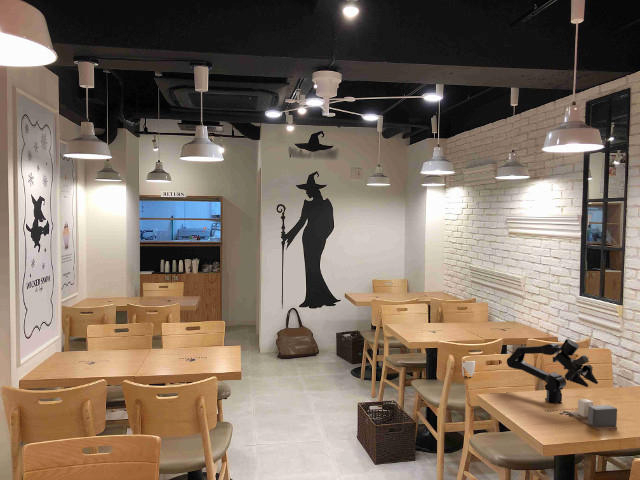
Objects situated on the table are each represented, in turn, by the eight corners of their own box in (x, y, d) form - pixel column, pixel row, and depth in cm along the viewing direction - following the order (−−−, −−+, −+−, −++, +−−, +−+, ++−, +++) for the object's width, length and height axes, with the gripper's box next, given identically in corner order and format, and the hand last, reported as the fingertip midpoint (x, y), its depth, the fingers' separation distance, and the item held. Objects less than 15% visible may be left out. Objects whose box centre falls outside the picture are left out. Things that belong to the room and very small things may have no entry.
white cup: (475, 375, 312) (476, 359, 311) (473, 378, 305) (474, 362, 304) (462, 373, 315) (463, 357, 315) (460, 376, 308) (460, 360, 308)
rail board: (567, 413, 250) (567, 411, 250) (584, 412, 253) (584, 410, 253) (598, 430, 230) (598, 428, 230) (617, 429, 233) (617, 426, 233)
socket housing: (587, 422, 236) (588, 405, 236) (608, 421, 238) (608, 404, 238) (595, 427, 231) (596, 409, 231) (616, 425, 234) (617, 408, 233)
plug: (577, 413, 247) (578, 399, 247) (586, 413, 248) (587, 398, 248) (587, 418, 241) (587, 404, 240) (596, 418, 242) (596, 403, 242)
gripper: (566, 353, 253) (592, 376, 243) (585, 348, 264) (611, 370, 253) (554, 369, 258) (579, 392, 248) (573, 364, 269) (598, 386, 258)
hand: (592, 384), depth 252 cm, fingers open, 9 cm apart
